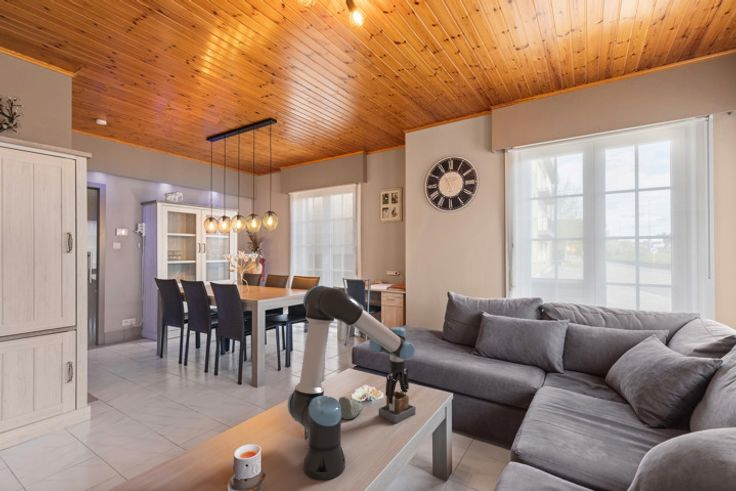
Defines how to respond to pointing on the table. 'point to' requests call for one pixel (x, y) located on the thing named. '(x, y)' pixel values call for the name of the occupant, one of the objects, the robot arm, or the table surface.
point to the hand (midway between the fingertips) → (397, 407)
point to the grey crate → (396, 414)
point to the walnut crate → (399, 402)
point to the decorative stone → (349, 408)
